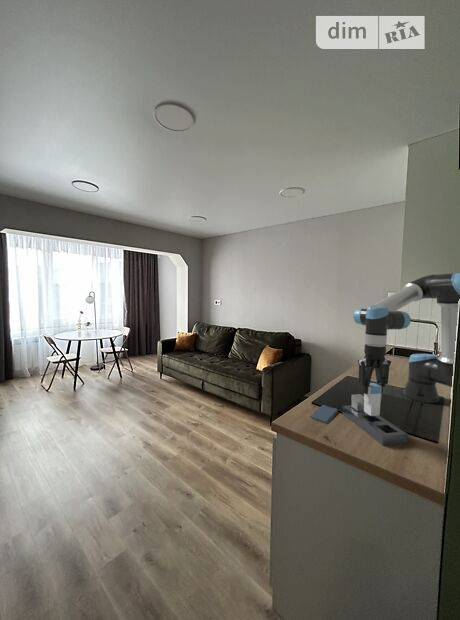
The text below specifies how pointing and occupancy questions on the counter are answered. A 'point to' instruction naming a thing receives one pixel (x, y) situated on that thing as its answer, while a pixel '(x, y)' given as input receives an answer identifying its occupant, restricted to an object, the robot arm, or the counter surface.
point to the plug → (373, 400)
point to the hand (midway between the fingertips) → (372, 401)
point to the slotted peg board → (373, 423)
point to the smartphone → (324, 414)
